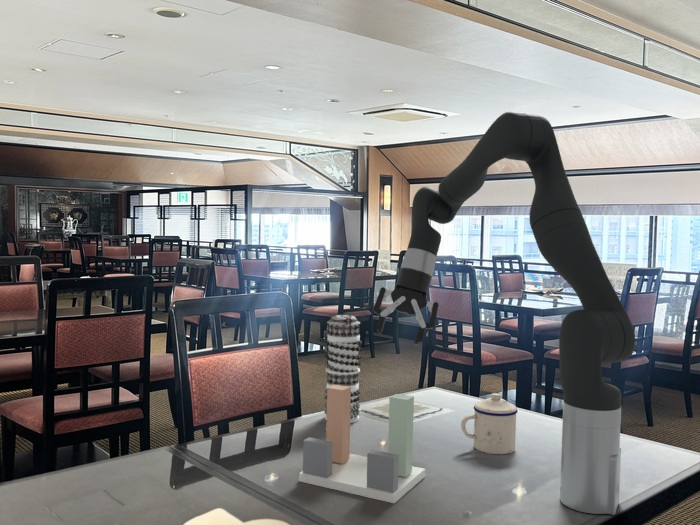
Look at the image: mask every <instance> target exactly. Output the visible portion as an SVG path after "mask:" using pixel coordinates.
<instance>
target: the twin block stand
mask: <svg viewBox="0 0 700 525" xmlns="http://www.w3.org/2000/svg"><path fill="white" fill-rule="evenodd" d="M302 442H303V443H302V444H303V446H302V470H301V471H300V472H299V473H298V482H300V483H306V484H310V485H314V486H318V487H322V488H326V489H332V490H335V491H339V492H344V493H346V494H352V495H357V496H361V497H366V498H369V499H374V500H378V501H383V502H387V503H391V504H395V503H397V502H398V501H399V500H401V498H403V497H404V496H405V495H406V494H407V493H409V491H411V490H412V489H413V488H414V487H416V486H417V484H419V483H420V482H421V481H422V480H423V479H425V477H426V468H423V467H419V466H413V465H412V472H411V473H410V474H409V475H408V476H406V477H402V476H398V466H399V455H398V454H392V453H388V451H387V452H385V451H382V450H376V449H371V450H370V451H368V452H367V453H366V454H367V455H366V456H365V455H359V454H355V453H354V454H353V453H350V454H349V460H347V461H345V462H344V463H342V464H341V463H336V462H332V457H333V442H331V441H326V439H321V438H315V437H310V436H309V437H307V438H305V439H303V441H302Z"/></svg>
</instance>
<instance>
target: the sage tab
mask: <svg viewBox="0 0 700 525" xmlns="http://www.w3.org/2000/svg"><path fill="white" fill-rule="evenodd" d="M414 399H415V396H414V395H406V394H401V393H395V394H393V395H391V396H389V400H388V401H389V404H388V405H389V407H388V442H387V443H388V444H387V446H388V447H387V448H388V451H387V453H392V454H398V455H399V466H398V476H402V477H406V476H408V475H409V474H410V473H411V472H412V466H413V453H414V452H413V448H414V410H415V408H414V407H415V400H414Z"/></svg>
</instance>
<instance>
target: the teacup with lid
mask: <svg viewBox="0 0 700 525" xmlns="http://www.w3.org/2000/svg"><path fill="white" fill-rule="evenodd" d="M501 397H502V396H501V394H500V393H491V394H490V397H487V398H486V399H484V400H480V401H477V402H475V403H474V405H473V409H474V414H468V415H465V416H464V417H463V419H462V420H461V422H460V428H461V431H462V432H463V435H464V436H466V438H469V439H473V447H474V448H475V449H476V450H478V451H479V452H482V453H484V452H485V454H489V455H498V454H500V455H508V453H509V454H512V453H513V452H514V451H515V450H516V433H517V432H516V431H517V413H518V409H517V406H516V405H515V404H513V403H511V402H508V401H507V400H505V399H504V398H501ZM469 420H474V423H473V424H474V425H473V426H474V427H473V434H470V433H469V432H468V431H467V429H466V424H467V422H468V421H469Z"/></svg>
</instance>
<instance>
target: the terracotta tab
mask: <svg viewBox="0 0 700 525" xmlns="http://www.w3.org/2000/svg"><path fill="white" fill-rule="evenodd" d="M326 389H327V394H326V395H327V400H326V402H327V420H326V424H325V425H326V429H325V431H326V433H325V437H326V439H325V440H326V441H331V442H333V457H332V462H336V463H341V464H342V463H344V462H345V461H347V460H349V454H351V450H350V446H351V444H350V443H351V423H350V404H351V387H348V386H341V385H333V386H330V387H328V388H327V387H326Z"/></svg>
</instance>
